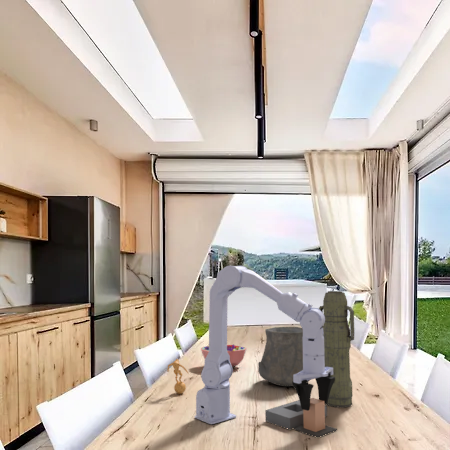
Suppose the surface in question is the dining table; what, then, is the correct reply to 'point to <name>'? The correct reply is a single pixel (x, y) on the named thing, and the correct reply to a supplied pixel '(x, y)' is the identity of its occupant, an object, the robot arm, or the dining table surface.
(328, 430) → the coaster
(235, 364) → the cell model
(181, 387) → the figurine
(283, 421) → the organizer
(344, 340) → the thermos
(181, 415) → the dining table surface
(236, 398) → the dining table surface
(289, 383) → the vessel
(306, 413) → the terracotta block
